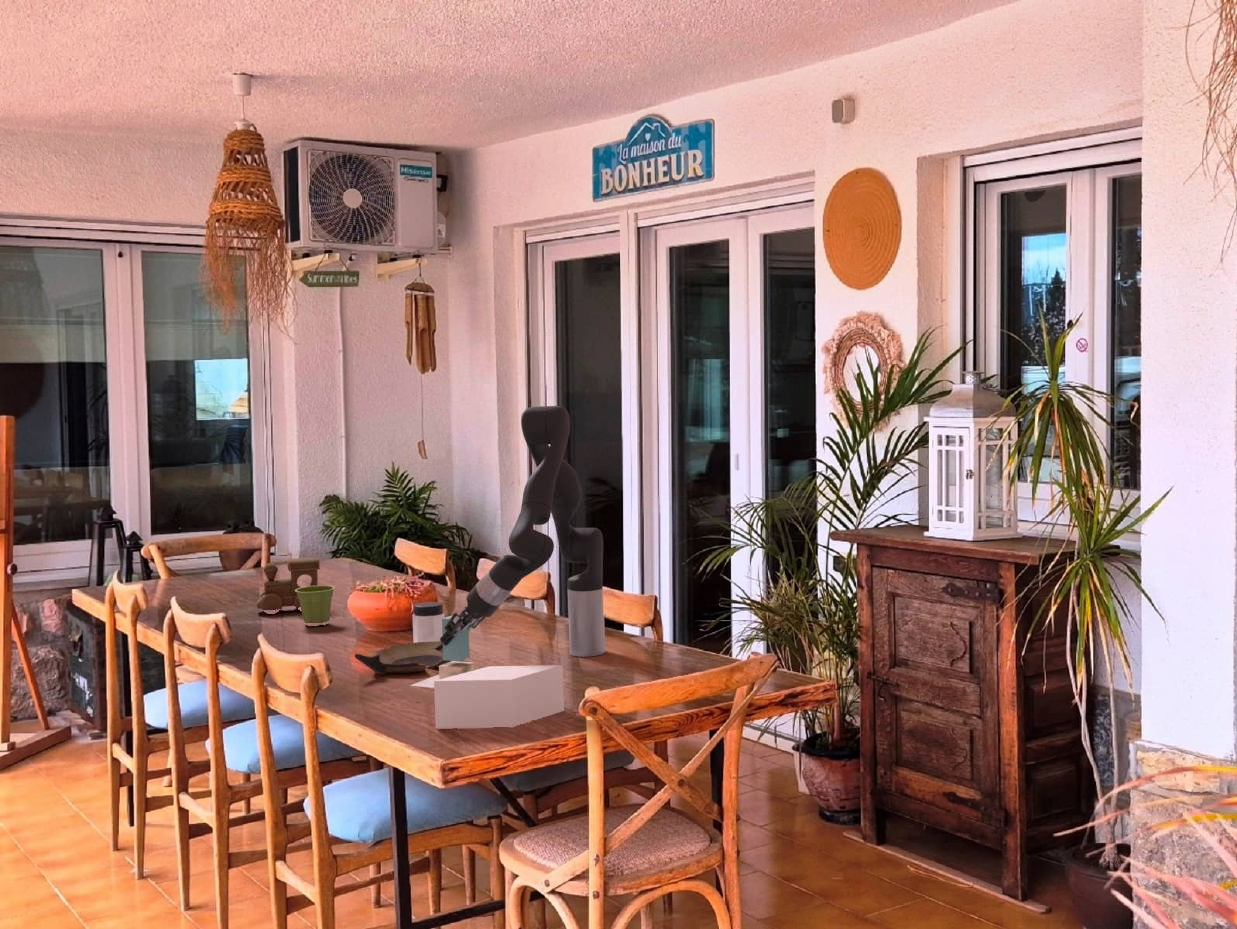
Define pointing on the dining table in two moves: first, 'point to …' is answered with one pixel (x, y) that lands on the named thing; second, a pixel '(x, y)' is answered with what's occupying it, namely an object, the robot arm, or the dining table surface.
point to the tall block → (456, 644)
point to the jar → (427, 621)
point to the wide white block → (498, 696)
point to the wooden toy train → (286, 583)
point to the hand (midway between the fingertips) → (449, 640)
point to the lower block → (455, 668)
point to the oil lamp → (405, 658)
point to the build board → (427, 682)
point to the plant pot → (315, 603)
